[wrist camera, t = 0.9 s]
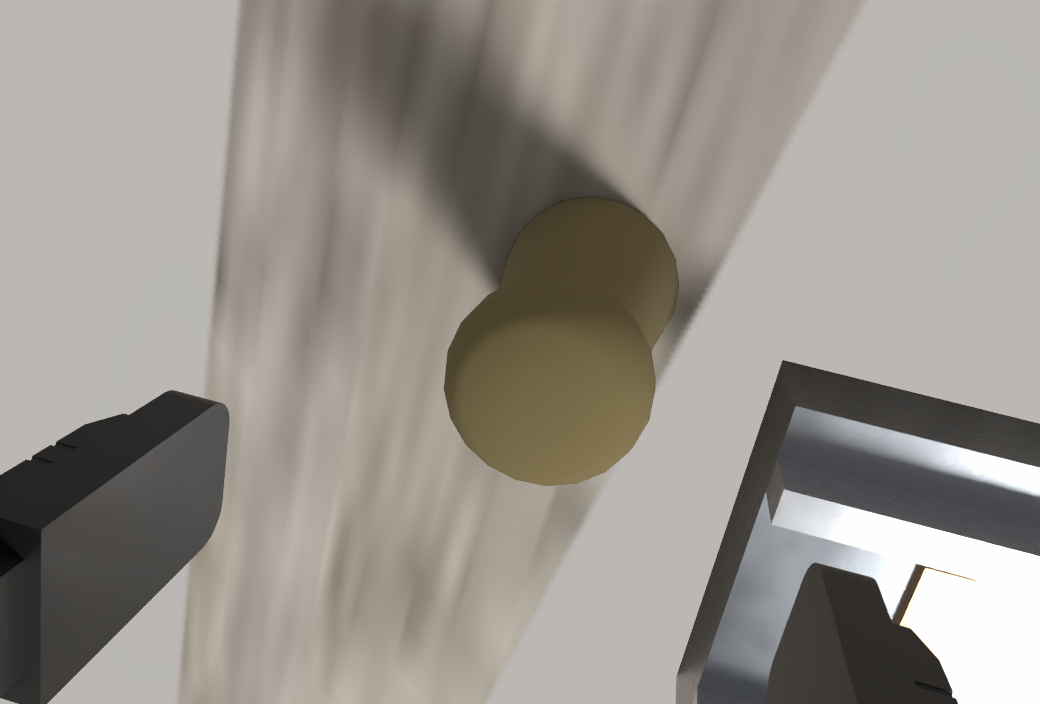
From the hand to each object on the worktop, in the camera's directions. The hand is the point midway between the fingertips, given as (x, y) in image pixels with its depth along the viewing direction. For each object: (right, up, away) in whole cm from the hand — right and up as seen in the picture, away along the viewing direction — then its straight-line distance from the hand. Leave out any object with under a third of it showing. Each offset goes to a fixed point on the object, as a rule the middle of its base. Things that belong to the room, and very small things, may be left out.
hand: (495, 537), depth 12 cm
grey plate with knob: (+14, -6, +20) cm, 25 cm away
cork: (+3, +5, +19) cm, 19 cm away
